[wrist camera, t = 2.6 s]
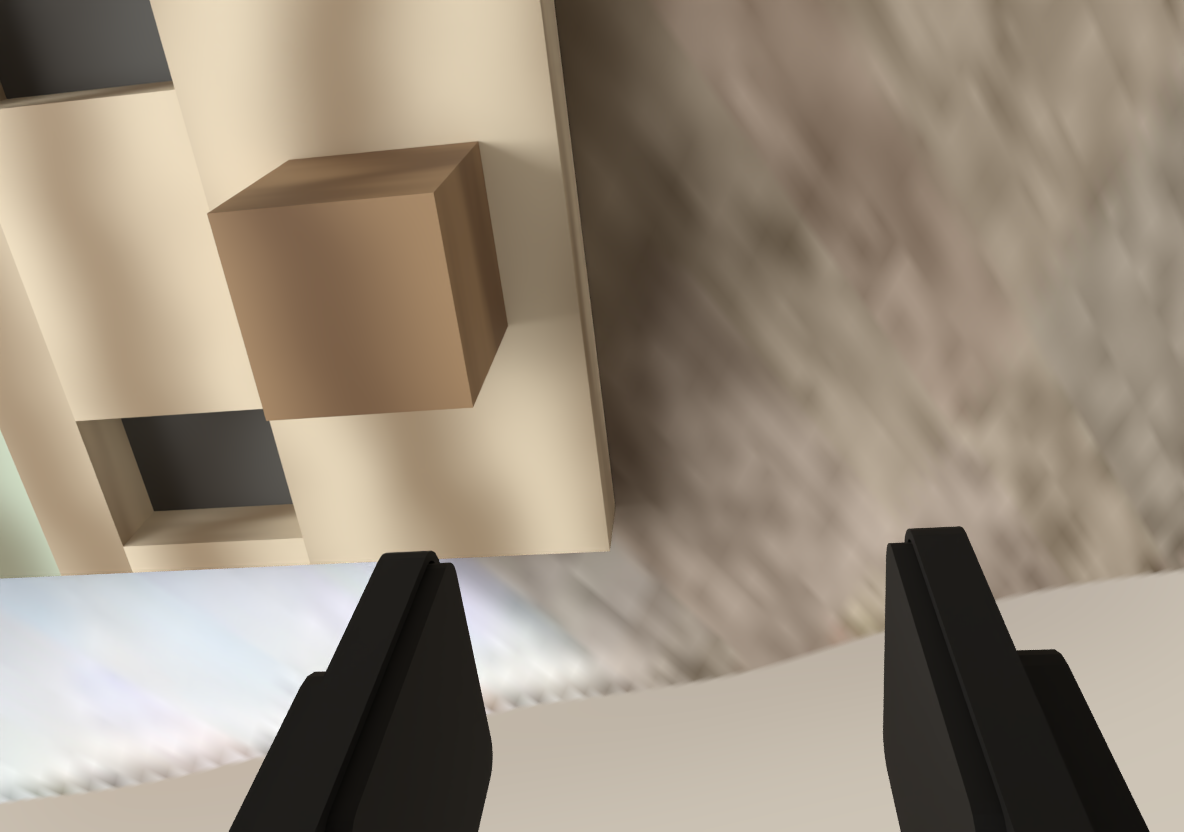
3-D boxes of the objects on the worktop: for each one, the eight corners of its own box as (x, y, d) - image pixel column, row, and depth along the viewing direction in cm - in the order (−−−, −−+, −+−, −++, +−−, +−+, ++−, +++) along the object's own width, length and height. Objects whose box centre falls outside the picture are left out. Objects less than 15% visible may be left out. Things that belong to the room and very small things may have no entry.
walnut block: (478, 141, 26) (433, 192, 21) (508, 325, 28) (472, 407, 23) (289, 160, 26) (206, 213, 22) (332, 339, 28) (266, 420, 24)
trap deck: (528, -208, 24) (512, -219, 22) (615, 507, 33) (609, 551, 31) (-317, -87, 27) (-407, -85, 25) (-31, 539, 36) (-78, 581, 34)
